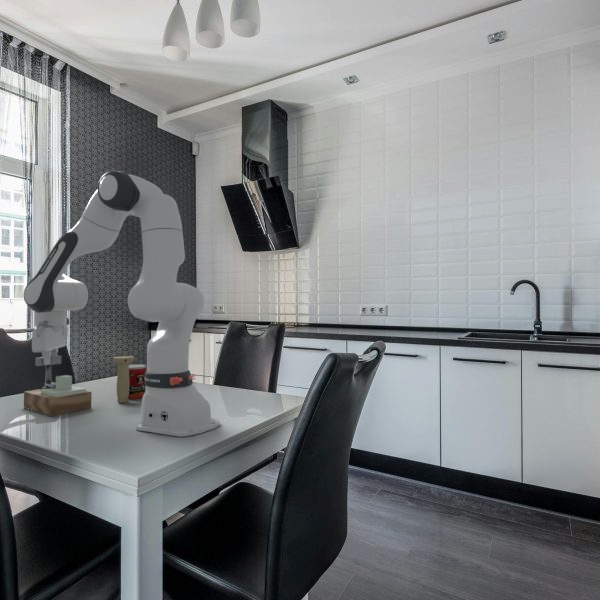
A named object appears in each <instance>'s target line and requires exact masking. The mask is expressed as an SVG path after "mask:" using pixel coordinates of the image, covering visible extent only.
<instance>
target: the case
mask: <svg viewBox="0 0 600 600" xmlns="http://www.w3.org/2000/svg"><path fill="white" fill-rule="evenodd" d="M41 390H42V388H41V389H40V388H39V389H32V390H26V391H23V408H24V407H25V408H24V409H26V408H29V409H28V410H30V409H32V410H31V411H33V410H35V411H34V412H36V411H38V412H37V413H39V412H41V413H40V414H43V415H46V414H47V415H48V416H49V415H50V416H49V417H53V416H58V415H63V414H64V415H65V414H67V413H73V412H77V411H83V410H87V409H91V408H92V391H90V390H86V393H80V394H74V395H69V396H63V397H57V398H55V397H51V396H47V395H43V394H41ZM47 415H46V416H47Z"/></svg>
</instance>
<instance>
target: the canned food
mask: <svg viewBox="0 0 600 600" xmlns="http://www.w3.org/2000/svg"><path fill="white" fill-rule="evenodd" d="M146 371H147V364H139V363H138V364H136V363H135V364H134V363H133V364H129V383H130V384H129V385H130V386H129V387H130V388H129V396H128V398H129V399H128V400H140V398H141V399H142V398H143V395H144V393H145V390H146V385H145V372H146Z"/></svg>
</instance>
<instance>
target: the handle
mask: <svg viewBox="0 0 600 600" xmlns="http://www.w3.org/2000/svg"><path fill="white" fill-rule="evenodd" d="M134 360H135V357H134V355H131V356H130V355H129V356H128V355H127V356H126V355H125V356H116V357H115V356H114V357H112V362H113V363H115V364H117V375H116V376H117V377H116V397H117V398H116V400H117V403H118V404H126V403H128V402H129V400H130V399H129V398H128V396H129V388H130V387H129V386H130V385H129V384H130V383H129V365H130V364H131V363H132V362H134Z"/></svg>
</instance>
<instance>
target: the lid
mask: <svg viewBox="0 0 600 600" xmlns="http://www.w3.org/2000/svg"><path fill="white" fill-rule="evenodd" d="M55 383H56V388H50V389H44V390H41V394H43V395H47V396H51V397H55V398H57V397H63V396H69V395H74V394H80V393H86V391H87V388H85V387H84V388H83V387H80V386H74V385H73V376H72V375H67V374H65V375H56V376H55Z"/></svg>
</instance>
